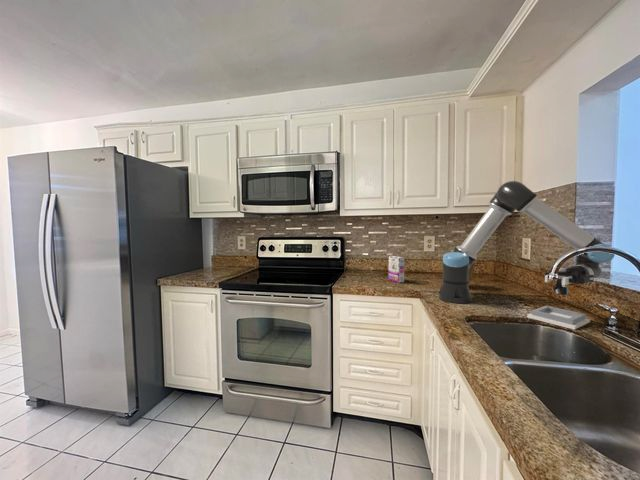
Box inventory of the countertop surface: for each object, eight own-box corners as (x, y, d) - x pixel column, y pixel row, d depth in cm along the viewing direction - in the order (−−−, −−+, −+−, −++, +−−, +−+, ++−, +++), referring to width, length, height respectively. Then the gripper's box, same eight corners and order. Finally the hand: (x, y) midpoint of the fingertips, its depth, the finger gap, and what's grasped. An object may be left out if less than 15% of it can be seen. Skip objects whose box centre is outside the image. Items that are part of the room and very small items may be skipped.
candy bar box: (404, 282, 178) (405, 257, 177) (398, 283, 176) (399, 257, 175) (393, 279, 188) (394, 255, 187) (387, 279, 187) (388, 255, 185)
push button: (546, 291, 113) (545, 267, 113) (559, 291, 113) (558, 266, 113) (559, 295, 107) (558, 269, 106) (573, 294, 106) (572, 269, 106)
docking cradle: (527, 317, 113) (527, 310, 113) (543, 311, 121) (544, 304, 120) (574, 329, 100) (575, 321, 100) (589, 322, 108) (590, 314, 108)
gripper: (607, 286, 111) (585, 294, 99) (552, 279, 126) (527, 285, 115) (608, 268, 110) (586, 274, 99) (553, 262, 126) (528, 267, 114)
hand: (554, 280), depth 107 cm, fingers closed on push button, 5 cm apart
